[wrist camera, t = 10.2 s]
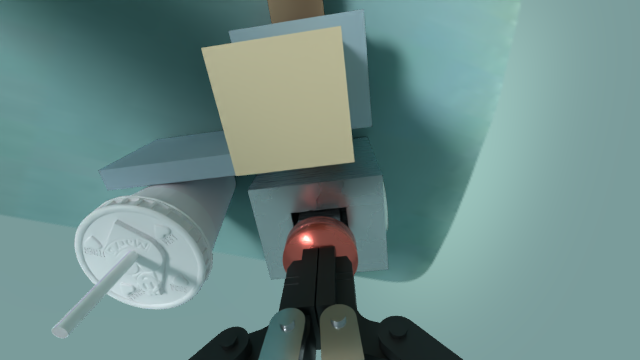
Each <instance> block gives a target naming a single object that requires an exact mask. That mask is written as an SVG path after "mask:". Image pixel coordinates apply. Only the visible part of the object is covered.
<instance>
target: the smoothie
mask: <svg viewBox="0 0 640 360" xmlns="http://www.w3.org/2000/svg"><path fill="white" fill-rule="evenodd" d="M235 186H236V182H235V177H234V175H233V176H225V177H217V178H208V179H200V180H191V181H183V182H175V183H166V184H158V185H151V186H149V187H147V188H145V189H143V190H141V191H139V192H137V193H135V194H133V195H131V196H120V197H117V198H114V199H111V200H108V201H106V202H105V203H103V204H102V205H101V206H99V207H98V208H97V209H95V210H94V211H93V212H92V213H91V214H89V215H88V216H87V217H86V218H84V220H83V221H82V222H81V223H80V225H79V227H78V229H77V231H76V235H75V252H76V256H77V259H78V262H79V264H80V266H81V268H82V269H83V271H84V272H85V274H86V275H87V276H88V278H89V279H90V280H91V281H92V282H93V283H94V284H95V286H94V287H93V288H92V289H91V290H90V291H89V292H88V293H87V294H86V295H85V296H84V297H83V298H82V299H81V300H80V301H79V302H78V303H77V304H76V305H75V306H74V307H73V308H72V309H71V310H70V311H69V312H68V313H67V314H66V315H65V316H64V317H63V318H62V319H61V320H60V321H59V322H58V323H57V324H56V325H55V326H54V327H53V328H52V333H53V334H54V335H55V336H57V337H59V338H66V337H67V336H68V335H69V334H70V333H71V332H72V331H73V330H74V329H75V328H76V327H77V325H78V324H79V323H80V322H81V321H82V320H83V319H84V318H85V317H86V316H87V314H88V313H89V312H90V311H91V310H92V309H93V308H94V307H95V306H96V305H97V303H98V302H99V301H100V300H101V299H102V298H103V297H104V296H105V295H106V294H108V295H109V296H111V297H113V298H115V299H117V300H118V301H120V302H123V303H126V304H129V305H132V306H135V307H139V308H144V309H167V308H173V307H177V306H179V305H182V304H184V303H186V302H188V301H189V300H191V299H192V298H193V297H194V296H195V295H196V294H197V293H198V292H199V290H200V289H201V287H202V285H203V284H204V282H205V281H206V280H207V279H208V277H209V274H210V272H211V269H212V260H213V254H212V250H213V248H214V245H215V242H216V239H217V236H218V233H219V231H220V228H221V225H222V223H223V220H224V217H225V215H226V212H227V209H228V206H229V204H230V201H231V198H232V196H233V193H234V190H235Z"/></svg>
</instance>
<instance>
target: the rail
mask: <svg viewBox="0 0 640 360" xmlns="http://www.w3.org/2000/svg"><path fill="white" fill-rule="evenodd" d="M267 1H268V6H269V12H270V17H271V23H272V24H274V23H280V22H286V21H293V20H299V19H305V18H311V17H317V16H323V15H324V6H323V0H267Z"/></svg>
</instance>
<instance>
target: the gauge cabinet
mask: <svg viewBox="0 0 640 360" xmlns="http://www.w3.org/2000/svg"><path fill="white" fill-rule="evenodd" d="M352 141H353V151H354V161H355V162H351V163H343V164H335V165H326V166H318V167H309V168H301V169H292V170H284V171H276V172H267V173H259V174H257V175H256V177H255V179H254V180H253V182H252V184H251V185H250V187H249V189H248V194H249V198H250V202H251V205H252V209H253V213H254V217H255V221H256V225H257V228H258V232H259V236H260V240H261V244H262V248H263V251H264V255H265V259H266V263H267V266H268V270H269V274H270V278H271V280H272V279H283V278H286V272H285V269H284V266H283V252H284V248H285V244H286V239H287V236H288V234H289V232H290V231H291V229H292V228H293V227H294V226H295V225H296V224H297V223H298V219H299V213H300V212H305V211H314V210H323V209H333V208H341V212H342V223H344V224H345V225H346V226H347V227H348V228H349V229H350V230H351V231H352V233H353V235H354V237H355V240H356V246H357V254H358V267H357V270H356V272H364V271H375V270H387V269H388V256H387V240H386V231H388V209H387V200H386V192H385V186H384V181H383V175H382V173H381V170H380V168H379V165H378V163H377V160H376V158H375V155H374V153H373V150H372V148H371V145H370V143H369V140H368V138H367V137H363V138H355V139H352Z"/></svg>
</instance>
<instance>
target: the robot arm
mask: <svg viewBox="0 0 640 360" xmlns="http://www.w3.org/2000/svg"><path fill="white" fill-rule="evenodd" d="M320 349H321V358H322V360H463V359H462V358H460V357H459V356H458V355H456V354H455V353H453V352H452V351H451V350H449V349H448V348H447V347H445V346H444V345H443V344H441V343H440V342H439V341H437V340H436V339H435V338H433V337H432V336H431V335H429V334H428V333H427V332H425V331H424V330H423V329H421V328H420V327H419V326H417V325H416V324H414V323H413V322H412V321H411V320H409V319H407V318H405V317H402V316H391V317H388V318H386V319H384V320H383V321H382V322H381V323H378V322H373V321H370V320H368V319H366V318H364V317H362V316H361V315H360V314H359V312H358V311H357V305H356V294H355V284H354V276H353V268H352V262H351V261H350V260H349V258H348V257H347V256H339V257H336V250H335V246H329V247H320V248H308V249H303V254H302V260H296V261H293V262H292V263H291V264H290V266H289V267H288V268H287V273H286V279H285V283H284V288H283V293H282V298H281V303H280V308H279V312H278V313H276V314H275V315H274V316H273V317H272V319H271V321H270V324H269V325H268V326H267V327H265V328H263V329H261V330H258V331H255V332H253V333H250V334H248V333H247V331H246V330H245V329H244V328H241V327H231V328H228V329H226V330H224V331H222V332H221V333H220V334H218V335H217V336H216V337H215V338H214V339H213V340H211V341H210V342H209V343H208V344H206V345H205V346H204V347H203V348H202V349H201V350H199V351H198V352H197V353H196V354H195V355H193V356H192V357H191V358H190V359H189V360H315V358H316V350H320Z"/></svg>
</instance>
